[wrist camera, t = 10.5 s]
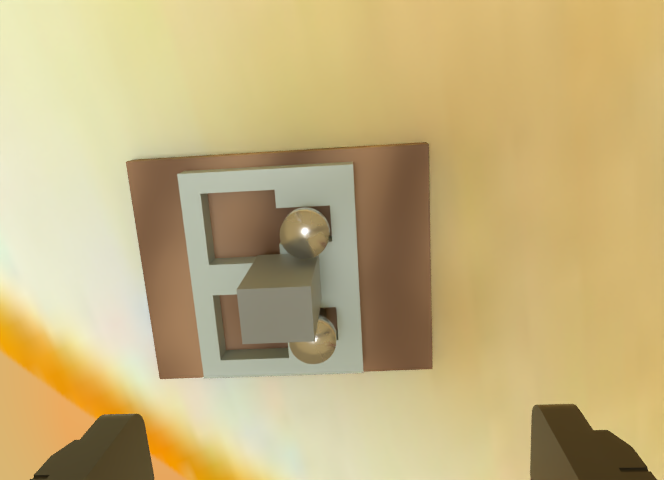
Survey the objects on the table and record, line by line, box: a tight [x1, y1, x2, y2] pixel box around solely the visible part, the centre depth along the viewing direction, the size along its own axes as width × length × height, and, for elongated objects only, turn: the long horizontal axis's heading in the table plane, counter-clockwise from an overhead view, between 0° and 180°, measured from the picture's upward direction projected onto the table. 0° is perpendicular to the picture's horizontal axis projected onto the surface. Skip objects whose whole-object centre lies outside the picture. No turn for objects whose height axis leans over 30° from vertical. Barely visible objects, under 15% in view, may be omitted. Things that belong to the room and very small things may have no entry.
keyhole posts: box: [280, 207, 336, 364], centre depth 26 cm, size 2×7×3 cm, turn 4°
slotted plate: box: [177, 162, 363, 378], centre depth 25 cm, size 8×11×6 cm
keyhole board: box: [126, 142, 432, 379], centre depth 28 cm, size 15×12×1 cm
